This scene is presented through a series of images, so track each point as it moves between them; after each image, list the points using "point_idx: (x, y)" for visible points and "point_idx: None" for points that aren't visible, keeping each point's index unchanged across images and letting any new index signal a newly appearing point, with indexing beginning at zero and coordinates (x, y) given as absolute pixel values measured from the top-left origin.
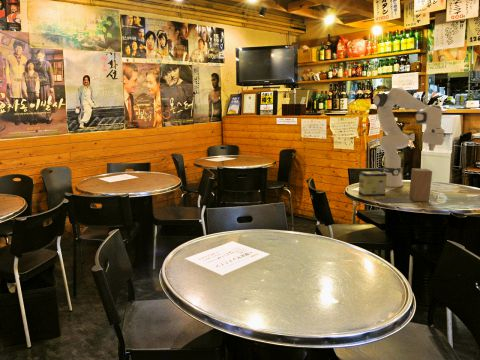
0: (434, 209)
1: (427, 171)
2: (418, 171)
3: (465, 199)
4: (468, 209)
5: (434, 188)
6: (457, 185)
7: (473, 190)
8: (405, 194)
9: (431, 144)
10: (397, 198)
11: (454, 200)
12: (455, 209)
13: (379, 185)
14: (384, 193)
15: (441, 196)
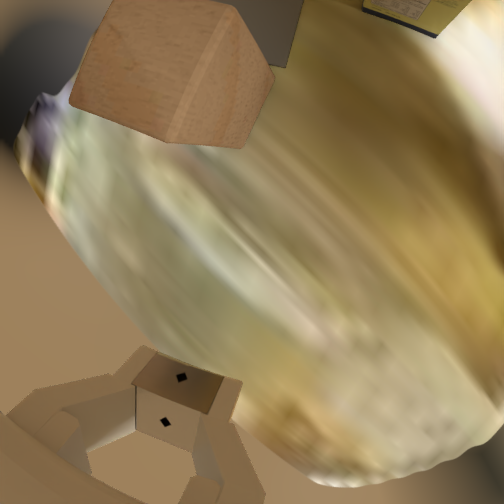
0: None
1: (81, 67)
2: (113, 4)
3: (171, 322)
4: (52, 191)
5: (403, 383)
6: (383, 474)
7: (296, 463)
8: (364, 129)
9: (50, 436)
10: (280, 17)
11: (166, 263)
12: (61, 144)
13: None
14: (363, 1)
15: (253, 277)
